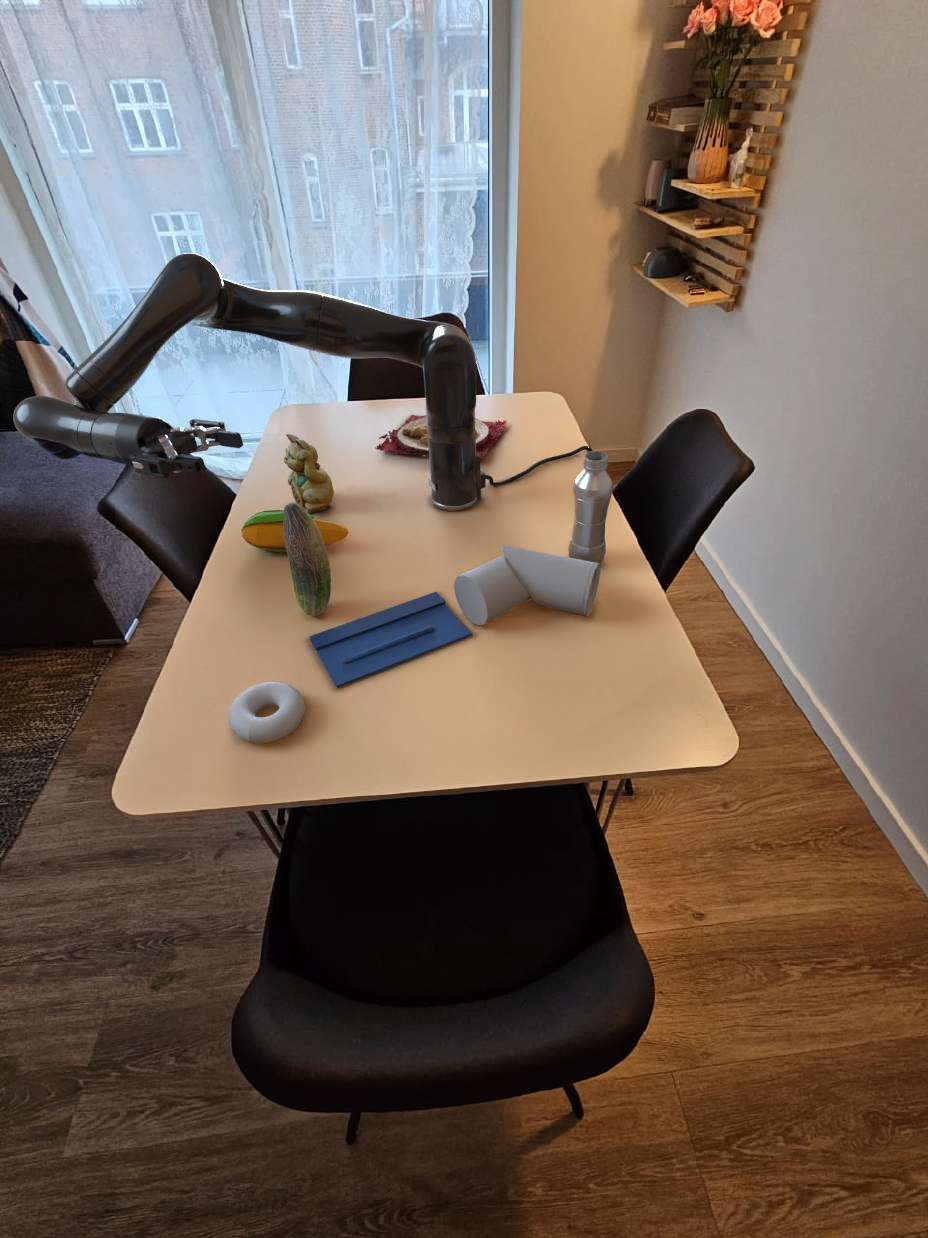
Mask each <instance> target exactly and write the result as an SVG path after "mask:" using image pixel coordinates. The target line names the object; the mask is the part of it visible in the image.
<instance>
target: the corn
mask: <svg viewBox="0 0 928 1238" xmlns="http://www.w3.org/2000/svg"><path fill="white" fill-rule="evenodd" d="M307 514H308V515H309V516H310V517H311V518H312V519H313V520H314V522H315V523H316V526H317V528H318V530H319V532H320V534H321V536H322V539H323V541H324V544H325V546H327V545H331V544H333V543H336V542H340V541H342V540H344V539H346V538H347V537H348V535H349V530H348V528H346V527H345V526H344V525H341V524H338V523H335V522H331V521H327V520H323V519H319V518H316V515H313V514H312V513H307ZM283 522H284V510H282V509H275V510H273V509H272V510H262V511H260V512H256V513H255V514H254V515H252V516H251V517H249V518H248V519H247V520H246V521H244V524H243V526H242V528H241V530H240V532H241V534H242V535H241V536H242V539H244V540H245V542H246V543H247V544H249V545H250V546H252V547H254V548H257V549H258V550H261V551H269V552H275V553H276V552H277V553H287V550H286V545H285V540H284V532H283Z"/></svg>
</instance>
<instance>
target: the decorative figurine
mask: <svg viewBox="0 0 928 1238" xmlns="http://www.w3.org/2000/svg"><path fill="white" fill-rule="evenodd" d="M285 435H286V437H287V439H288V441H289V442H290V444H288V445H287V446H286V447H285V455H284V457H283V463H284V464H286V466H287V467H288V469H290V470H291V471H290V472H289V475H288V477H287V483H288V485H289V486H290V488H291V493H292V497H293V499H294V501H295V502H294V503H296V504H297V505H299V506H300V507H301V509H302V510H303V511H305V512H306V513H307V514H312V513H314V512H321V511H324V510H327V509H330V504H331V503H332V502H333V498H334V492H335V491H334V485H333V482H332V479H331V477H330V475H329V473H328V472H327V471H326V470H325V469H324V468H322V467H321V464H320V463H319V462H318V459H319V453H318V451H317V449H316V447H315V446H314V445H313V444H311V443H309V442H307V441H306V440H304V439H301V438H299V437H298V436H297V435H294V434H292V433H286V434H285Z"/></svg>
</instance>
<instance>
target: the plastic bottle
mask: <svg viewBox="0 0 928 1238" xmlns="http://www.w3.org/2000/svg"><path fill="white" fill-rule="evenodd" d="M583 460H584V462H583V463H582V465H583V466H582V468H583V470H582V471H581V472H580V473H579V474H578V476H577V477H576V478H575V481H574V483H573V487H572V490H573V503H574V511H573V512H574V513H573V514H574V517H573V526H572V530H571V531H572V532H571V536H570V539H569V543H568V549H567V550H568V551H567V552H568V557H569V558H574V559H579V560H584V561H590V562H595V563H599V564H600V563H602V562H603V561H604V558H605V556H606V554H607V553H606V552H607V544H606V543H607V542H606V521H607V515H608V510H609V505H610V502H611V498H612V495H613V492H614V491H613V490H614V484H613V479H612V478H611V476H610V475H609V473H608V471H607V469H608V465H609V464H608V461H609V457H608V453H606V452H604V451H599V450H593V451H587V452H586V453H585V454H584V459H583Z"/></svg>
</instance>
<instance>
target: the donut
mask: <svg viewBox="0 0 928 1238" xmlns="http://www.w3.org/2000/svg"><path fill="white" fill-rule="evenodd" d="M267 707H278V710H277V711H275V712H274V713H273V714H271V715H267V716H264V717H259V716H256V714H257V713H258V712H259V711H261V710H262V709H264V708H267ZM305 712H306V706H305V699H304V697H303V695H302V694H301V692H300V690H298V689H297V688H295V687H294V686H293V685H291V684H289V683H286V682H282V681H265V682H261V683H258V684H255V685H252V686H250V687H248V688H247V689H245V690H244V691H243V692H241V693H240V694H239V695H238V696H237V697H236V698H235V699H234V700H233V701H232V704H231V706H230V708H229V710H228V724H229V727H230V730H231V731H232V732H233V734H234V735H235V736H237V737H238V738H239V739H241V740H242V741H245V742H248V743H251V744H267V743H273V742H277V741H278V740H281V739H283V738H285V737H287V736H288V735H289V734H291V733H292V732H294V731H295V730H296V729H297V727H298V726H299V725H300V723H302V720H303V717H304V715H305Z"/></svg>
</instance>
